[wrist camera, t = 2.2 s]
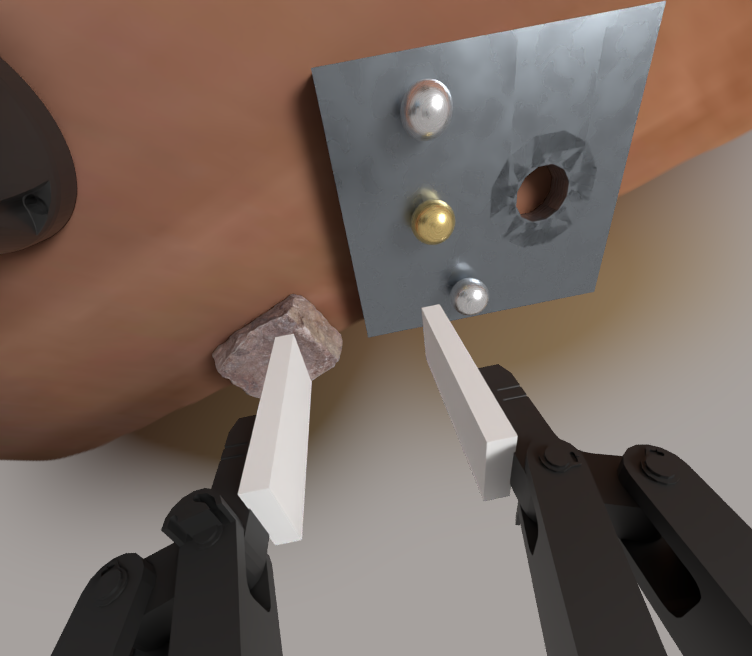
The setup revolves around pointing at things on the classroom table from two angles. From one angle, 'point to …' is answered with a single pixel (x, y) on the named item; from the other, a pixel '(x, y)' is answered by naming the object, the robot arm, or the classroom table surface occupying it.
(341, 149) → the plate
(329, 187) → the classroom table surface
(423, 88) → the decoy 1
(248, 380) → the stone
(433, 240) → the brass ball
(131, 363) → the classroom table surface
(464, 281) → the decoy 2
